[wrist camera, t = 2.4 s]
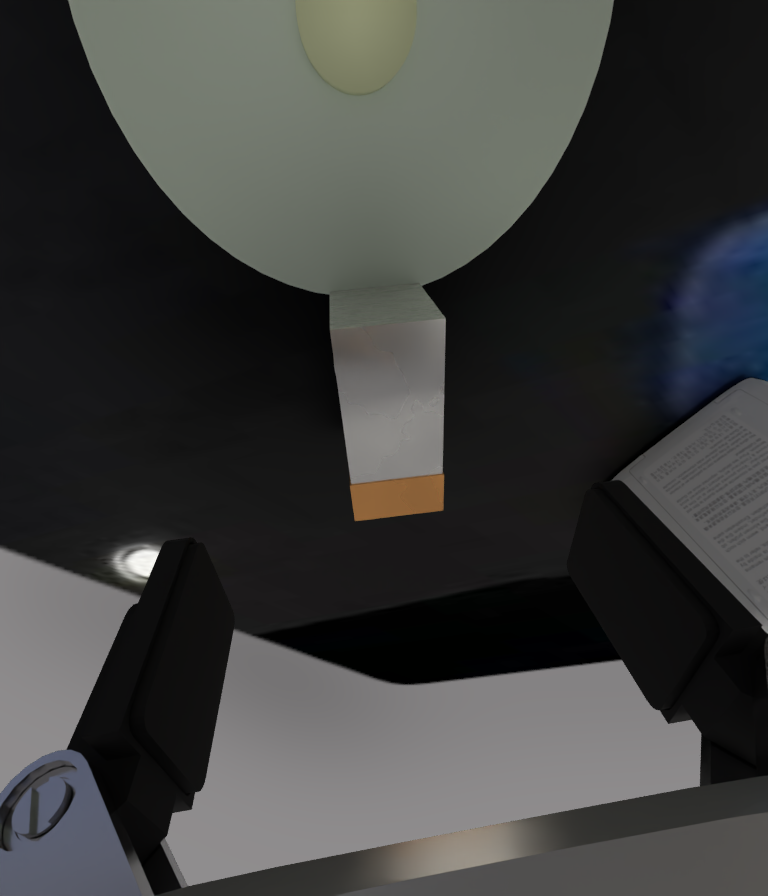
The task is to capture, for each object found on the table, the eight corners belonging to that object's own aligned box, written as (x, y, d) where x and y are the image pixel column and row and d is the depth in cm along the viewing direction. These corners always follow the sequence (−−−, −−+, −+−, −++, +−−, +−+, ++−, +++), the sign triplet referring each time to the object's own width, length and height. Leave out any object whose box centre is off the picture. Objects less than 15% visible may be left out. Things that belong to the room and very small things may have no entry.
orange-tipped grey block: (328, 282, 17) (328, 330, 12) (414, 274, 17) (448, 318, 12) (349, 439, 21) (355, 521, 16) (417, 432, 21) (443, 510, 17)
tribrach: (816, -404, 10) (963, -575, 8) (533, 407, 22) (557, 436, 20) (-403, -904, 6) (-802, -1484, 4) (53, 384, 19) (15, 415, 16)
